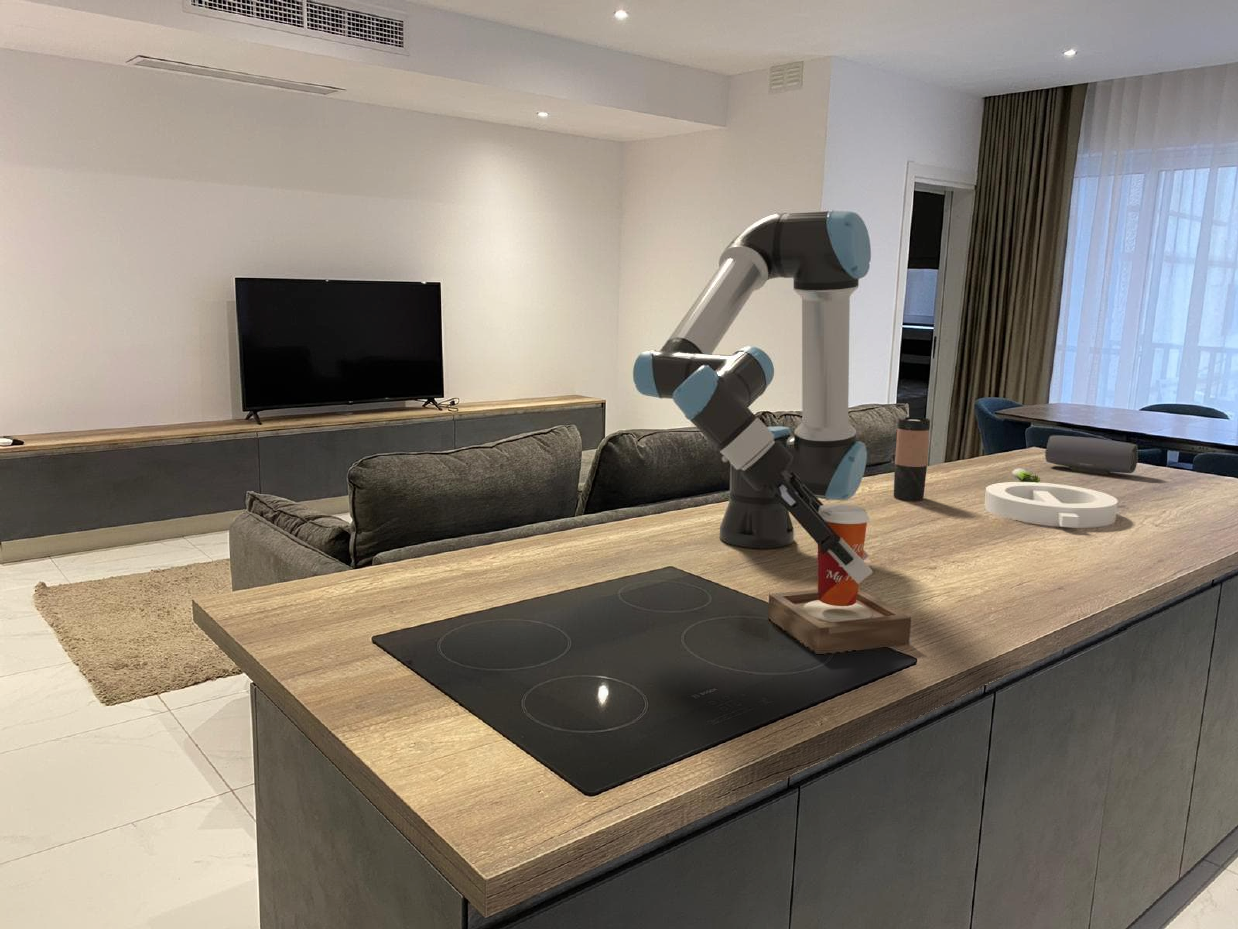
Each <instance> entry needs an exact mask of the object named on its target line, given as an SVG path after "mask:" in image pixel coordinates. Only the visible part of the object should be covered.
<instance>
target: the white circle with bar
mask: <svg viewBox="0 0 1238 929" xmlns="http://www.w3.org/2000/svg"><path fill="white" fill-rule="evenodd" d="M984 493H985V494H984V506H983V508H984V509H985V510H986V511H987V512H989V513H991V514H992V513H993V515H995V516H998V517H1001V518H1004V517H1005V519H1007V518H1008V520H1012V521H1016V520H1018V521H1017V522H1020V521H1022V522H1021V523H1027V524H1032V525H1033V524H1034V525H1039V526H1049V527H1058V528H1059V527H1060V528H1072V529H1073V528H1077V529H1078V528H1081V529H1082V528H1097V527H1098V528H1099V527H1105V526H1110V525H1112V524H1114V523H1115V522H1116V518H1117V509H1118V502H1119V500H1118V499H1117V498H1116V497H1114V496H1112V495H1111V494H1108V493H1105V492H1103V491H1102V492H1101V491H1098V490H1094V489H1090V488H1086V487H1080V486H1074V485H1067V484H1060V483H1059V484H1058V483H1049V482H1039V483H1037V482H1029V481H1025V482H1020V481H1012V482H1011V481H1009V482H998V483H994V484H990V485H987V486H986V488H985V492H984Z"/></svg>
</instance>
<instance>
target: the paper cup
mask: <svg viewBox="0 0 1238 929" xmlns="http://www.w3.org/2000/svg"><path fill="white" fill-rule="evenodd" d="M818 513H819V514H820V515H821V516H822V518H823V519H824V520H825V521H826V522H827V524H828V525H829V526H830V527H831V529H832V530H833V531H834V532H835V533H836V535H838V536H839V537H840V538H842V539H843V540H844V541H845V542H846V543H847V544H848V545H849V546H850V547H851V548H852V549H853V550H854V551H855V553H856V554H857V555H858V556H859V557H860V558H861V559H862V557H863V549H864V548H865V547H864V546H865V541H866V534H867V533H866V532H867V526H868V524H867V523H868V522H870V517H869V516H868V512H867V510H866V509H865V508H864V507H862V506H859V505H855V504H845V503H828V504H827V503H825V504H824V505H822V506H820V507H819V511H818ZM827 537H828V536H827ZM827 537H826V538H827ZM826 538H825V539H826ZM825 539H824V540H825ZM820 550H821V548H820V546H819V545H818V544H817V589H818V599H819V601H821V602H823V603H825V604H828V605H833V606H850V605H854V604H855V603H856V600H857V594H858V588H859V586H860V583H859V584H858V583H857V582H856V581H855V580H854V579H853V578H852V577H851V576H850V575H849V574H848V573H847V572H846V571H845V569H844V568H843V567H842V566H841V565H840V564H839V563H838V562H837V561H836V560H835V559H834V558H833V557H832V556H831V554H830V553H829V552H828V551H827V552H826V553H824V554H822V553H821V552H820ZM864 550H865V549H864Z"/></svg>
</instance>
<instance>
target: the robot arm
mask: <svg viewBox="0 0 1238 929" xmlns="http://www.w3.org/2000/svg"><path fill="white" fill-rule="evenodd" d="M871 253H872V250H871V240H870V236H869V232H868V228H867V226H866V223H865V221H864V220H863V218H862V217H861V216H860V215H859V214H858V213H856V212H854V211H845V210H834V209H833V210H827V211H826V210H825V211H812V212H811V211H810V212H793V213H791V212H790V213H788V212H783V213H782V212H780V213H774V214H772V215H771V214H770V215H768V216H766V217H764V218H761V219H760V220H758V221H756V222H754V223H753V224H751V225H750V226H748V227H747V228H745V229H744V230H743V231H742V232H740V234H738V235H737V236H735V238H733V239H732V241H730V243H729V244H728V245H727V246H726V248H724V251H723V252H722V253H721V255H720V257H719V260H718V268H717V270H716V271H715V273H714V275H712V277H711V279H710V280H709V282H708V283H707V284H706V285H705V287H704V288H703V289H702V291H701V293H700V294H699V295H698V297H697V298H696V300H695V301H694V302H693V304H692V305H691V307H690V308H689V309H688V311H687V312H686V314H685V315H684V316H683V318H682V319H681V321H680V322H679V323H678V325H677V326H676V327H675V329H674V331H673V332H672V333H671V335H670V336H669V338H668V339H667V340H666V342H665V343H664V345H663V346H662V347H661V349H660V350H658V351H657V350H656V349H652V350H646V351H644V352H641V353H640V354H639V355H638V356H637V357H636V359H635V360H634V365H633V369H632V379H633V383H634V386H635V388H636V390H637V392H638V393H639V394H641V395H643V396H647V397H652V398H659V399H672V401H673V402H674V404H675V405H676V406H677V407H678V409H679V410H680V411H681V412H682V413H683V415H684V417H685V418H686V419H687V420H689V421H690V422H691V423H692V424H693V425H694V426H695V427H696V428H697V429H698V430H699V432H701V433H702V434H703V435H704V437H706V438H707V440H708V441H709V442H710V443H711V444H712V445H713V446H714V448H716V450H717V451H718V452H720V454H722V455H723V456H722V457H721V460H722V462H723V463H726V462H727V463H728V461H729V463H730V470H729V471H730V472H729V473H730V474H729V501H728V505H727V507H726V510H725V513H724V515H723V517H722V519H721V520H722V521H721V523H720V526H719V539H720V540H721V541H722V542H724V543H726V544H729V545H733V546H736V547H742V548H749V549H777V548H785V547H788V546H790V545H791V544H793V543H794V540H795V532H794V531H795V529H794V525H793V522H792V519H791V515H792V517H793V518H794V519H795V520H796V521H797V523H798V524H799V525H800V526H801V527H802V528H803V529H804V530H805V531H806V532H807V534H808V535H809V536H810V537H811V538H812V539H813V541H814V542H815V543H816V544H817V546H818V545H819V546H820V548H821V550H820V552H821V553H822V554H824V553H826V552H827V551H828V552H829V553H830V554H831V556H832V557H833V558H834V559H835V560H836V561H837V562H838V563H839V564H840V565H841V566H842V567H843V568H844V569H845V571H846V572H847V573H848V574H849V575H850V576H851V577H852V578H853V579H854V580H855V581H856V582H857V583H858V584H859V585H860V583H861V582H863V581H864V580H865V579H867V577H869V576H870V575H871V574H872V573H873V570H872V568H871V567H870V566H869V565H868V564H867V563H866V562H865V560H866V559H867V558H868V557H869V556H870V555H869V554H868V552H867V551H866V550H865V549H863V557H862V559H861V558H860V557H859V556H858V555H857V554H856V553H855V551H854V550H853V549H852V548H851V547H850V546H849V545H848V544H847V543H846V542H845V541H844V540H843V539H842V538H840V537H839V536H838V535H836V533H835V532H834V531H833V530H832V529H831V527H830V526H829V525H828V524H827V522H826V521H825V520H824V519H823V518H822V516H821V515H820V514H819V513H818V511H819V507H820V506H822V505H825V504H824V503H823V502H822V501H821V500H825V501H840V502H841V501H848V500H850V499H851V498H853V496H855V494H856V493H857V491H858V490H859V488H860V485H861V483H862V480H863V477H864V474H865V470H866V466H867V459H868V456H867V455H868V451H867V446H866V444H865V443H863V442H862V441H860V440H859V441H857V430H856V428H855V427H854V426H852V425H851V424H850V422H849V389H850V388H849V387H850V385H849V384H850V382H849V379H850V377H849V376H850V316H851V315H850V314H851V313H850V306H851V305H850V304H851V301H850V298H851V295H852V294H854V292H855V291H857V289H858V288H859V284H860V283H859V281H860V279H862V278H865V277H866V276H867V274H868V273H869V271H870V262H871V258H872V254H871ZM777 278H779V279H780V278H783V279H785V278H787V279H790V278H791V279H792V280H793V290H794V292H796V293H797V294H798V296H799V297H800V298H801V370H802V371H801V377H802V378H801V384H802V385H801V387H802V389H801V391H802V392H801V395H802V396H801V401H802V403H801V405H802V406H801V408H802V411H801V412H802V415H801V417H802V420H801V421H802V422H801V423H800V424H799V425H798V426H797V427H796V428H795V430H794V433H793V434H794V435H791V434H792V430H791V429H790V427H788V426H776V425H775V426H766V424H765V423H764V422H762V420H761V419H760V418H759V417H758V416H757V415H755V413H753V412H752V410H751V409H750V406H751V405H752V404H753V403H754V402H756V401H757V399H758V398H759V397H761V396H762V395H764V393H766V390H767V388H768V387H769V385H770V384H771V383H772V381H773V380H774V376H775V368H774V363H773V361H772V358H771V357H770V356H769V355H768V354H767V353H766V352H765V351H764V350H762V349H761V348H759V347H756V346H743V348H740V349H739V350H736V351H735V352H733V353H732V354H717V353H716V354H713V353H714V351H715V350H716V349H717V347H718V346H719V345H720V343H721V341H722V340H723V338H724V336H725V335H726V333H727V332H728V331H729V329H730V327H731V326H732V324H733V323H734V322H735V320H736V319H737V316H738V315H739V314H740V312H741V311H742V310H743V308H744V306H745V304H746V303H747V302H748V300H749V298H751V296H752V294H753V293H754V292H756V291H757V290H760V289H761V288H762V287H764V285H765V284H767V281H769V280H772V279H777ZM820 499H821V500H820ZM790 514H791V515H790ZM827 536H828V537H827ZM826 537H827V538H826ZM825 538H826V539H825ZM824 539H825V540H824Z"/></svg>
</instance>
